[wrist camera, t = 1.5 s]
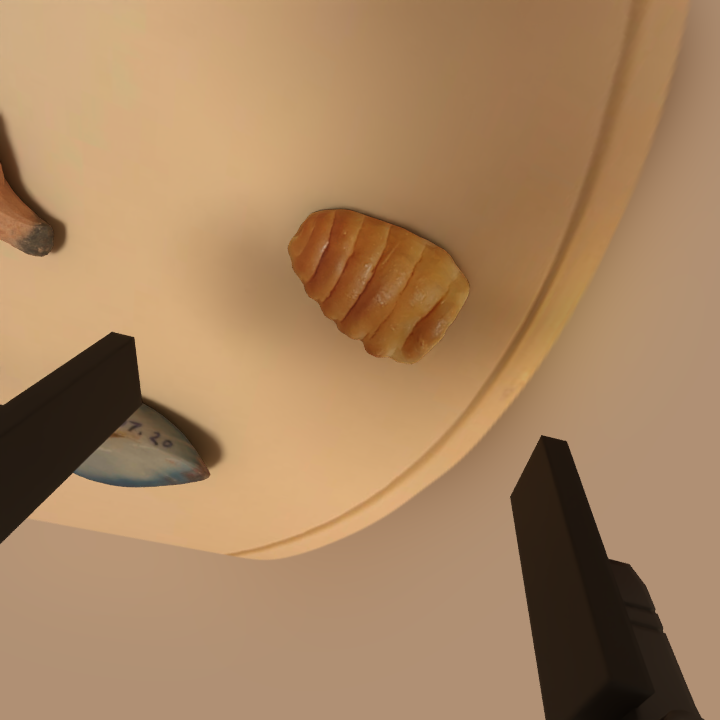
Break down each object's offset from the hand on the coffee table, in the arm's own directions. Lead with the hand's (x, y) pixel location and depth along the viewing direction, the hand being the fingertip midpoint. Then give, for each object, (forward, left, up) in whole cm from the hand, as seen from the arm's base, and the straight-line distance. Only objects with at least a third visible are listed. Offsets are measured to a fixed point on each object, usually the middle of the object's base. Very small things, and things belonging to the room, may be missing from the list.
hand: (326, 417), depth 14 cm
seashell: (+15, +15, -13) cm, 24 cm away
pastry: (0, 0, -13) cm, 13 cm away
